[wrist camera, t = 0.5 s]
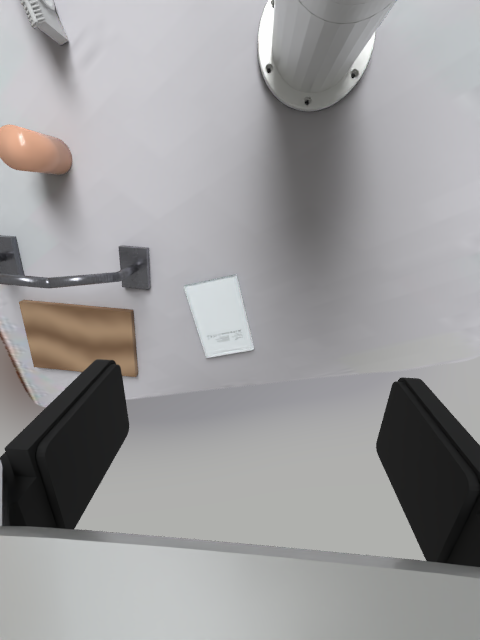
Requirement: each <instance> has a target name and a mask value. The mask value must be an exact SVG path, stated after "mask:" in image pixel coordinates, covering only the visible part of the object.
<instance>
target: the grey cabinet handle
mask: <svg viewBox="0 0 480 640" xmlns="http://www.w3.org/2000/svg"><path fill="white" fill-rule="evenodd" d="M119 256H120V267H121V270H120V271H119V272H115V273H103V274H90V275H78V276H65V277H53V278H44V277H33V276H24V272H23V268H22V263H21V259H20V254H19V250H18V245H17V240H16V237H14V236H2V235H0V284H6V285H17V286H29V287H40V288H58V287H68V286H78V285H88V284H99V283H109V282H119V281H122V287H129V288H140V289H149V288H150V287H151V285H150V265H149V248H145V247H133V246H119Z"/></svg>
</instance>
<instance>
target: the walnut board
mask: <svg viewBox="0 0 480 640" xmlns="http://www.w3.org/2000/svg"><path fill="white" fill-rule="evenodd" d="M19 304H20V309H21V313H22V317H23V322H24V326H25V330H26V334H27V339H28V343H29V347H30V351H31V356H32V360H33V364H34V367H40V368H50V369H60V370H70V371H80V372H83V371H84V370H85V369H86V368H87V367H88V366H90V365H91V364H92V363H93V362H94V361H95V360H96V359H103V360H114V361H115V362H116V364H118V365H120V367H121V373H122V376H131V377H136V376H137V375H138V367H137V353H136V340H135V327H134V313H133V310H129V309H118V308H107V307H96V306H85V305H74V304H63V303H52V302H41V301H30V300H22V301H20V302H19Z"/></svg>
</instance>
